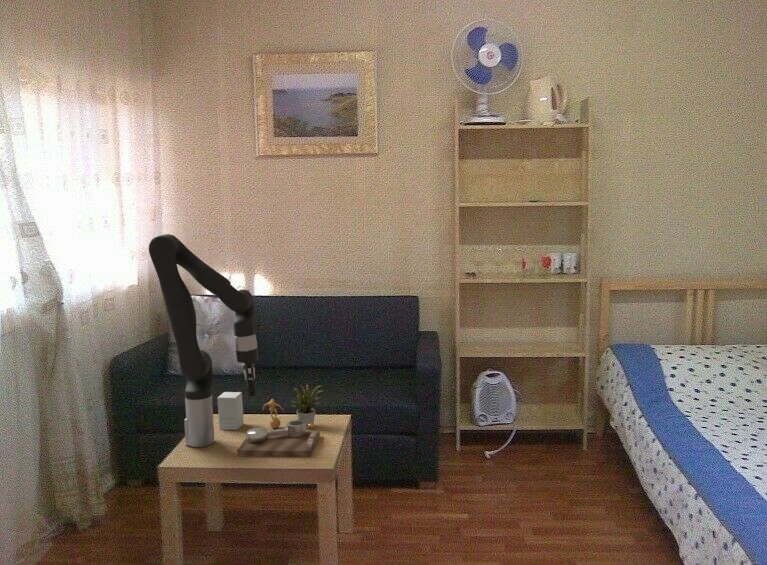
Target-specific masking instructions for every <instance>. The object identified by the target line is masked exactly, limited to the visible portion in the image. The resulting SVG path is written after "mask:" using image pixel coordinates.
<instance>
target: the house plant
mask: <svg viewBox="0 0 767 565" xmlns="http://www.w3.org/2000/svg"><path fill="white" fill-rule="evenodd" d="M299 385H300V387H301V388H302V390H303V395H302V393H301V391H300V390H299V389H298V388H296V387H294V386H293V389H294V390H295V392H296V394H297V396H295V397H296V400H297V401H298V402H297V401H294V400H290V402H292V403H293V404H292V405H291V407H295V408H297V410H296V415H297V420H303V421H305V422H306V426H307V425H308V424H310V423H312V424H313V427H314V424H315V418H316V417H315V416H316V409H315V407H316V408H319V407H318V405H319V406H320V405H321V404H320V402H319V401H318V399H319V398H320V396H317V395H318V394H319V393H320V392H321V393H322V392H323V389H320V390H318V389H319V387H322V386H323V385H318V386H315V388H313V389H312V390H310V388H309V387H308V384H306V385H305V388H304V386H302V385H301V384H299ZM317 390H318V391H317ZM316 391H317V392H316ZM315 392H316V393H315ZM314 393H315V394H314ZM316 401H317V402H316ZM313 407H314V408H313ZM306 430H310V429H309V427H306Z"/></svg>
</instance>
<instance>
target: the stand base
mask: <svg viewBox="0 0 767 565" xmlns="http://www.w3.org/2000/svg"><path fill="white" fill-rule="evenodd" d="M320 433H321V432H320V431H319V430H315V431H314V430H312V431H311V430H306V434H305V435H304V436H301V437H289V436H288V435H287V434H284V435H277V436H270V437H267V440H266V441H264V442H261V443H250V442H248V441H247V437H246V438H245V439H244V440H243V442H242V443H241V444H240V445H239V447H238V449H236V454H237V457H238V456H239V457H285V458H286V457H290V458H291V457H292V458H294V457H299V458H302V457H303V458H306V457H307V458H310V457H311V456H312V454H313V452H314V450H315V448H316V445H317V443H318V442H319V439H320V437H321V434H320ZM317 441H318V442H317Z"/></svg>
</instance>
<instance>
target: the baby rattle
mask: <svg viewBox="0 0 767 565" xmlns="http://www.w3.org/2000/svg"><path fill="white" fill-rule="evenodd" d="M285 424H286V425H285V427H284V428H278V429H277V428H276V429H271V430H268V429H267V428H264V427H253V428H250V429H248V430H246V438H247V441H248V442H250V443H261V442H264V441H266V440H267V437H270V436H277V435H284V434H287V435H288V436H289V437H301V436H304V435H305V434H306V431H307V429H306V427H309V428H310V429H312V427H313V428H314V426H313V424H312V423H310V424H308V425H307V426H306V422H305V421H303V420H298V419H292V420H289V421H287V422H286V423H285Z"/></svg>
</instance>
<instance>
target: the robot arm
mask: <svg viewBox="0 0 767 565" xmlns="http://www.w3.org/2000/svg"><path fill="white" fill-rule="evenodd" d="M148 254H149V256H150V257H149V258H150V259H151V262H152V264H153V266H154V269H155V270H154V271H155V273H156V275H157V278H158V282H159V286H160V290H161V294H162V296H163V301H164V306H165V310H166V312H167V313H166V314H167V317H168V319H169V323H170V327H171V331H172V335H173V338H174V340H175V343H176V348H177V355H178V362H179V368H180V371H181V373H182V375H183V376H184V378H186V384H185V388H184V400H185V418H184V436H185V439H184V440H185V446H189V447H192V448H205V447H207V446H210V445H213V444H214V443H215V425H214V411H213V408H214V406H213V393H212V392H213V390H212V389H213V386H214V378H213V376H214V374H213V361H212V357H211V355H210V354H209V353H208V352H207V351H205V350H203V349H200V346H199V343H198V339H197V338H198V337H197V314H196V309H195V304H194V300H193V297H192V294H191V293H190V290H189V289H188V287H187V285H186V284H185V282H184V280H183V278H182V277H181V274H180V272H179V269H178V266H179V267H181V268H183V269H184V270H185V271H186V272H188V273H189V274H190V276H192V278H194V280H195V281H196V282H197V283H198V284H199V285H200V286H201V287H203V288H204V289H205V290H207V291H209V292H210V293H211V294H213V295H214V296H216V297H217V298H218V299H219V300H220V302H222V304H224V306H226V307H227V308H228V309H229V310H231V311H233V312H234V314H235V315H234V321H233V333H234V348H235V355H236V357H235V358H236V362H238V364H239V363H240V364H243V365H242V372H243V375H244V380H245V381H246V388H247V390H248V391H247V392H248V396H249V397H254V396H256V387H255V385H256V381H255V380H256V374H255V369H256V368H255V364H254V363H253V362H256V361H258V360H259V351H258V349H259V348H258V341H257V336H256V331H255V322H254V314H255V311H254V310H255V308H254V307H255V303H254V302H255V301H254V296H253V295H252V293H251V292H250V291H249V290H246V289H240V290H238V289H236V288H235V287H234V286H233V285H232V284H231V281H230V280H229V279H228V278H227V277H225V276H224V275H222V274H221V273H220V272H218V271H217V270H215V269H214V268H213V267H212V266H210V265H208V264H207V263H205V262H204V261H203V260H202V259H200V258H199V257H198V256H197V255H196V254H194V253H193V252H192V251H191V249H189V248H188V247H187V246H186V245H185V244H184V243H183V242H182V241H181V240H180V239H179V238H178V237H176V236H175V235H173V234H170V233H165V234H160V235H157V236H154V237H152V239H150V242H149V244H148ZM252 363H253V364H252Z"/></svg>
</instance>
